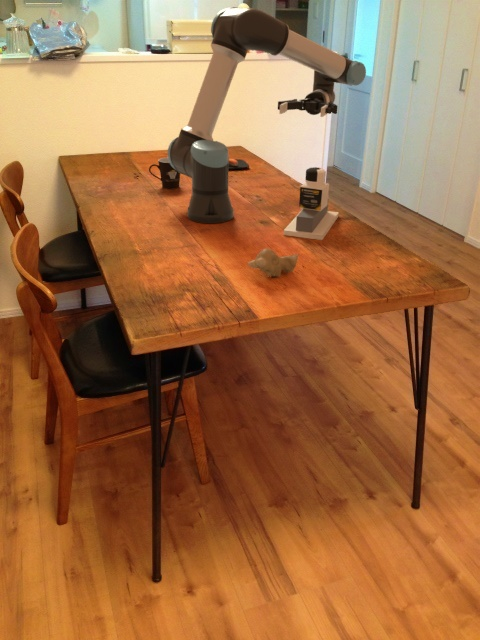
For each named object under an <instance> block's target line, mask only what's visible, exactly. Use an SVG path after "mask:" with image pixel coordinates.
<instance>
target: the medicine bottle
mask: <svg viewBox="0 0 480 640" xmlns="http://www.w3.org/2000/svg"><path fill="white" fill-rule="evenodd" d="M305 170H306V171H305V180H304V181H305V182H304V183H303V184H302V185H300V186H299V187H300V188H299V202H298V203H299V204H298V208H299V209H301V210H302V209H308V210H314V211H321V210H322V209H324V208H325V207H326V206H327V204H328V205H329V201H328V199H329V192H330V191H329V190H330V183H328V182H326V177H327V171H326V170H325V169H324V168H322V167H315V166H314V167H309V168H307V169H305Z"/></svg>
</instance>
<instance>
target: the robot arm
mask: <svg viewBox="0 0 480 640" xmlns="http://www.w3.org/2000/svg"><path fill="white" fill-rule="evenodd" d="M210 26H211V27H210V33H211V38H212V41H211V43H210V48H211V50H212V55H211V58H210V61H209V63H208V66H207V69H206V72H205V74H204V78H203V81H202V84H201V86H200V89H199V92H198V95H197V97H196V100H195V104H194V105H193V108H192V111H191V115H190V117H189V120H188V122H187V123H188V124H187V125H185V126H184V127H182V128H181V129H180V131H179V134H178V136H177V137H176V138H174V139H172V140H171V142H170V143H169V145H168V148H167V158H168V160H169V163H170V164H171V166H172V167H173V168H174V169H175V170H176V171H178V172H179V173H180V175H183V176H187V178H191V186H192V187H191V197H190V199H189V205H188V206H187V214H186V215H187V218H188V219H189V220H190V221H193V222H195V223H200V224H201V223H202V224H219V223H220V224H222V223H226V222H228V221H230V220H233V218H234V208H233V206H232V203H231V198H230V195H229V194H230V193H229V169H228V166H229V159H230V156H229V149H228V147H227V146H226V145H225V144H224V143H223V142H220V141H217V140H214V138H213V133H214V130H215V127H216V125H217V122H218V119H219V116H220V114H221V111H222V108H223V105H224V103H225V100H226V97H227V94H228V91H229V89H230V86H231V83H232V80H233V79H234V75H235V73H236V69H237V67H238V65H239V63H242V62H244V61H245V59H246V56H247V54H248V51H255V52H262V53H266V54H269V55H271V56H278V55H279V56H282V57H285V58H287V59H288V60H291V61H293V62H295V63H298V64H300V65H302V66H304V67H306V68H309V69H311V70H313V84H312V92H310V93H308V94H306V96H305V97H304V99H302V98H300V99H297V98H294V99H288V100H279V101H277V110H279V114H280V115H282V114H284V113H287V111H291V110H298V111H305V112H306V113H308V114H309V115H312V116H316V115H319V114H320V117H321V118H322V117H325V116H327V114H328V115H329V114H335V115H337V114H338V107H339V106H338V104H335V100H336V93H335V90H334V89H335V83H336V84H343V85H348V86H351V87H352V86H359V85H361V84H362V83H363V82H364V80H365V78H366V74H367V69H366V66H365V64H364V63H363V62H361V61H357V60H351V59H350V58H348V57H344V56H343V55H341V54H339V53H337V52H336V51H333V50H331V49H329V48H327V47H326V46H323V45H321V44H319V43H317V42H316V41H313V40H311V39H309V38H307V37H305V36H303V35H302V34H299V33H297V32H295V31H293V30H291V29H290V27H289V25H288V24H287V23H285V22H283V21H281V20H279V19H278V18H276V17H274V16H272V15H271V14H268V13H266V12H265V11H263V10H261V9H257V8H255V7H248V8H247V7H236V6H232V7H227V8H224V9H221V10H220V11H218V13H217V14H215V16H214V17H213V20H212V22H211V25H210Z"/></svg>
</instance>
